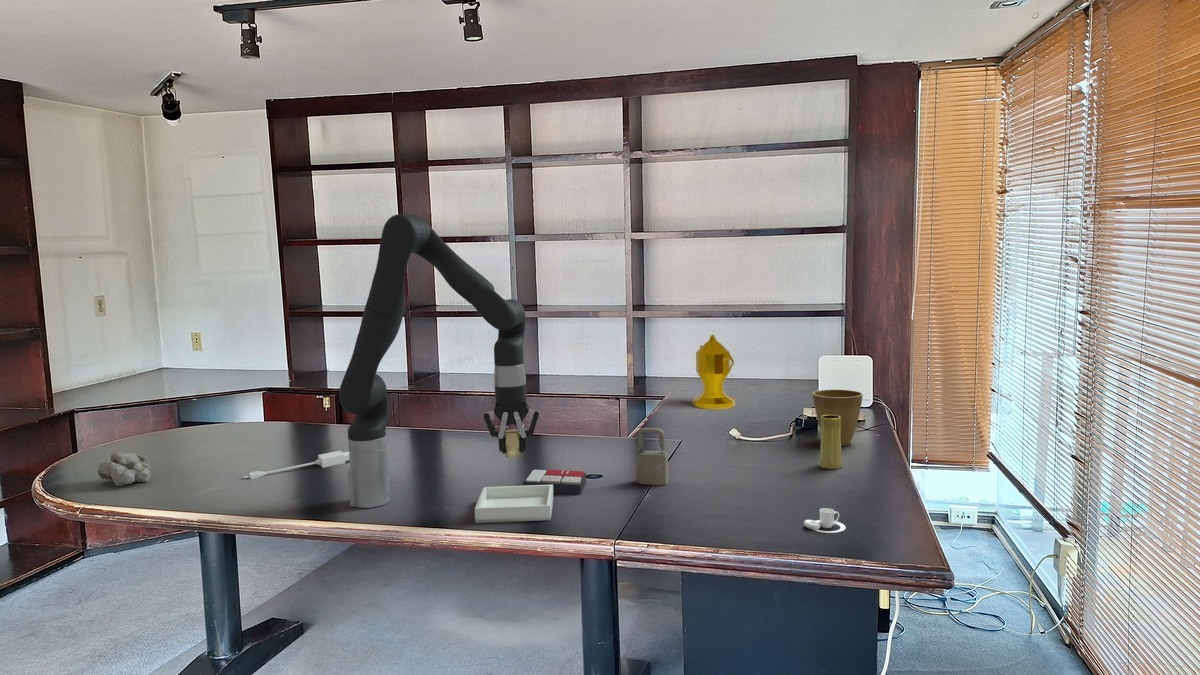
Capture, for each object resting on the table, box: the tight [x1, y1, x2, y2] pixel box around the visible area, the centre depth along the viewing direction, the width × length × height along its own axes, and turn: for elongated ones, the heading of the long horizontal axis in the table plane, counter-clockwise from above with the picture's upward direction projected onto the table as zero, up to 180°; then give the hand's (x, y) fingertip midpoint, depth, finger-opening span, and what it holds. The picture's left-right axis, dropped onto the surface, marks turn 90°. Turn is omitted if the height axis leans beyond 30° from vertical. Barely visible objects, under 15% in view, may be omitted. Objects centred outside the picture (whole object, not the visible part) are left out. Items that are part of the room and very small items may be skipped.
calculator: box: [523, 469, 587, 496], centre depth 206 cm, size 11×4×15 cm
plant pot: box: [812, 389, 863, 447], centre depth 242 cm, size 15×15×16 cm
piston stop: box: [504, 428, 523, 459], centre depth 188 cm, size 4×4×6 cm
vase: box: [819, 415, 843, 470], centre depth 217 cm, size 6×6×14 cm
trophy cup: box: [691, 334, 736, 410], centre depth 308 cm, size 18×24×28 cm
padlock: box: [635, 427, 669, 486], centre depth 208 cm, size 4×8×15 cm, turn 70°
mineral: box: [97, 451, 153, 487], centre depth 224 cm, size 12×17×10 cm
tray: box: [474, 485, 554, 524], centre depth 190 cm, size 18×17×4 cm
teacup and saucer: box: [803, 507, 847, 534], centre depth 172 cm, size 9×8×4 cm
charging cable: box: [243, 450, 350, 480], centre depth 234 cm, size 5×32×3 cm, turn 122°
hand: (513, 452), depth 188 cm, fingers closed on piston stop, 4 cm apart
